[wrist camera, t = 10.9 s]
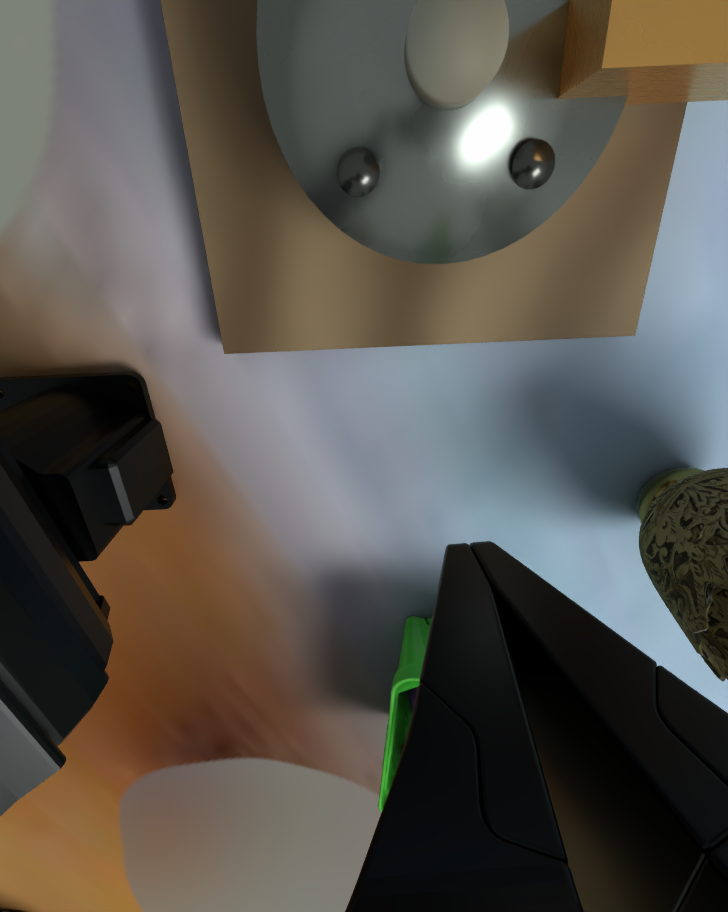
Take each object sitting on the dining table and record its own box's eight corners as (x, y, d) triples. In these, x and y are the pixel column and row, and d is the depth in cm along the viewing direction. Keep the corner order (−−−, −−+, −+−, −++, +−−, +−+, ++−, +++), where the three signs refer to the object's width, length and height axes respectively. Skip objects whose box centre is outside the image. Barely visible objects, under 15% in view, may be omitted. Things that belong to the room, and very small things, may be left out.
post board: (231, 348, 18) (193, 380, 14) (131, -226, 12) (6, -481, 8) (621, 330, 18) (698, 357, 14) (744, -260, 12) (961, -540, 7)
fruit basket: (385, 597, 24) (404, 852, 14) (544, 601, 25) (674, 854, 15) (374, 727, 29) (382, 984, 19) (506, 729, 30) (583, 984, 20)
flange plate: (286, 269, 15) (267, 277, 12) (235, -195, 10) (185, -377, 7) (724, 249, 15) (821, 252, 12) (862, -228, 10) (1077, -427, 7)
